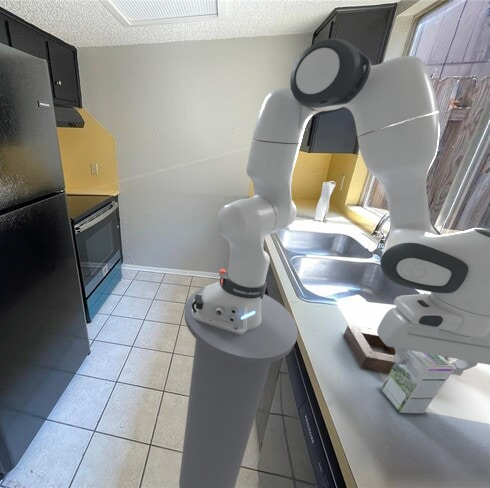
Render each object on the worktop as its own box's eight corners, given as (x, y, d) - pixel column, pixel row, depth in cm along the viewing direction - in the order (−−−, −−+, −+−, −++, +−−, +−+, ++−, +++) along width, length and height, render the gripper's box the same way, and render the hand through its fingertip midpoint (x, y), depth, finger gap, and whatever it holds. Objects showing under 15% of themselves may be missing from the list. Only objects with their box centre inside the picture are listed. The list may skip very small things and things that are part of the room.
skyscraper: (325, 222, 177) (338, 182, 166) (312, 220, 181) (323, 180, 170) (325, 219, 184) (337, 180, 172) (313, 217, 188) (324, 178, 176)
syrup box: (424, 414, 56) (458, 366, 50) (398, 413, 56) (428, 366, 50) (402, 390, 62) (430, 344, 56) (378, 389, 61) (403, 343, 55)
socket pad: (360, 367, 67) (366, 356, 65) (343, 335, 78) (347, 324, 76) (415, 379, 64) (422, 367, 63) (389, 343, 75) (394, 333, 74)
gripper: (510, 313, 49) (473, 366, 55) (386, 295, 53) (364, 345, 59) (545, 336, 43) (500, 392, 49) (404, 314, 48) (377, 368, 53)
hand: (425, 366), depth 54 cm, fingers open, 8 cm apart
